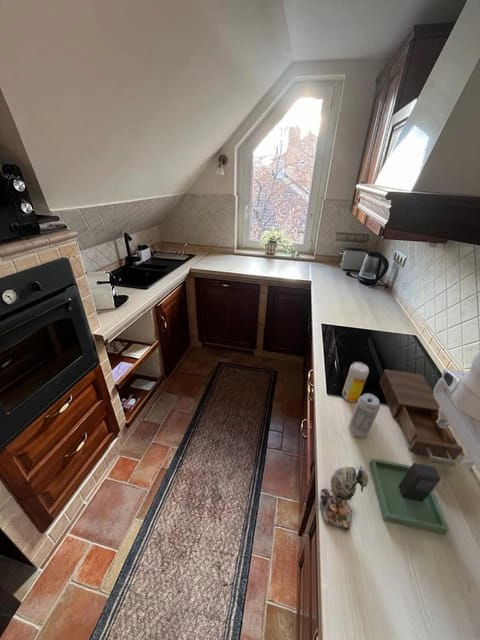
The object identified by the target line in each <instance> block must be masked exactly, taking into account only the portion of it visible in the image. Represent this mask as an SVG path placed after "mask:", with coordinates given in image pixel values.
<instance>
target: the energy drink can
mask: <svg viewBox="0 0 480 640" xmlns="http://www.w3.org/2000/svg"><path fill="white" fill-rule="evenodd" d="M356 402H357V403H356V405H355V408H354V410H353V412H352V416H351V419H350V420H349V421H350V422H349V424H348V428H349V430H350V433H351V434H352V435H353V436H354V437H357V438H366V437H367V436H368V435H369V433H370V432H371V429H372V427H373V425H374V422H375V420H376V418H377V416H378V413H379V411H380V409H381V404H380V399H379V398H378V397H377V396H376V395H375V394H372V393H369V392H366V393H365V392H364V393H363V394H362V395H360V397H359V400H358V401H356Z"/></svg>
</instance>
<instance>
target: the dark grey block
mask: <svg viewBox="0 0 480 640" xmlns="http://www.w3.org/2000/svg"><path fill="white" fill-rule="evenodd" d="M410 466H411V468H410V469H409V471H408V472H407V474H406V475H405V477H404V478H403V480H402V481H401V483H400V484H399V488H400V492H401V495H402V497H403V498H407V499H412V500H417V501H422V502H423V501H424V500H425V499H426V497H427V496H428V495H429V494H430V492H431V491H433V490H434V489H435V487H436V486H437V485H438V484H439V482H440V481H441V480H442V478H441V476H440V474H439V472H438V469H437V468H436V466H432V465H428V464H423V463H418V462H413V463H412V464H411V465H410Z"/></svg>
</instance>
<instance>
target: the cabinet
mask: <svg viewBox="0 0 480 640" xmlns="http://www.w3.org/2000/svg"><path fill="white" fill-rule="evenodd" d="M378 382H379V385H380V389H381V391H382V393H383V396H384V399H385V401H386V404H387V406H388V409H389V411H390V414H391V417H392V418H393V419H398V420H399V417H398V415H397V413H398V411H399V409H400V407H401V406H406V407H412V408H419V409H425V410H431V411H437V412H438V413H439V408H440V407H439V405H438V403H437V402H436V400H435V398H434V397H433V390H432V388H431V387H430V385H429V383H428V382H427V380H426V379H425V377H424V375H423V374H422V373H421V374H420V373H414V372H413V373H412V372H406V371H399V370H392V369H384V370H383V373H382V375H381V377H380V379H379V381H378Z"/></svg>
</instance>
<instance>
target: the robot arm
mask: <svg viewBox="0 0 480 640" xmlns="http://www.w3.org/2000/svg"><path fill="white" fill-rule="evenodd" d="M432 392H433V397H434V398H435V400H436V402H437V403H438V405H439V407H440V408H439V418H438V420H437V421H436V422H437V424H438V426H439V427H440V428H444V429H446V428H448V429H449V426H450V427H451V429H452V431H453V432H454V433H455V435H456V437H457V438H458V440H459V442H460V444H461V445H462V448H463V450H465V452H466V453H467V454H466V456H464V455H458V458H456V461H457V462H458V464H459V466H460V467H461V469H471V468H472V467H473V466H474V467H475V469H476V470H477V472H478V473H480V349H479V350H478V351H477V353H476V355H475V356H474V358H473V359H472V363H471V368H469V370H468V371H465V370H458V369H447V368H445V369H443V371H442V373H441V377H440V378H438V381H437V382H436V384H435V386H434V387H433V390H432Z"/></svg>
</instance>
